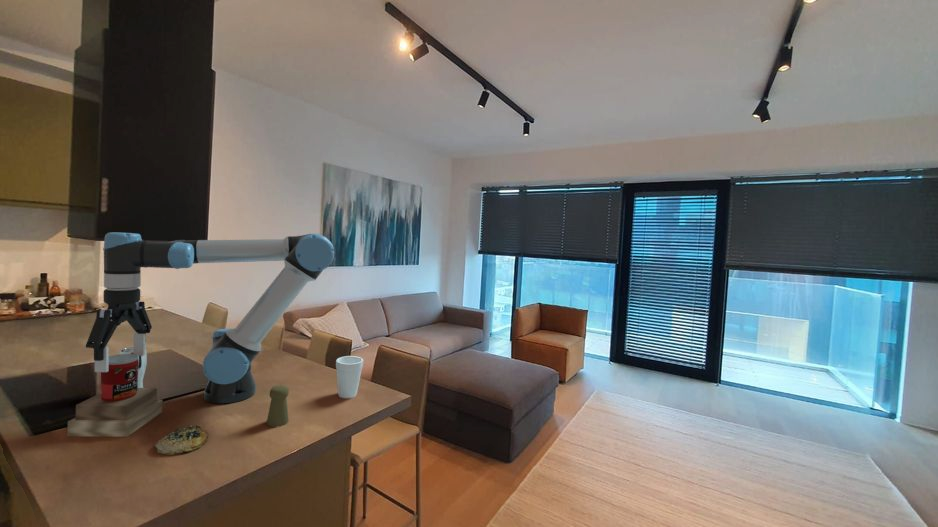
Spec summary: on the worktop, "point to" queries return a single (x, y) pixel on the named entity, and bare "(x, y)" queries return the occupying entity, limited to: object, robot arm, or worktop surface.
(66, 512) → the worktop surface
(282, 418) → the green pawn
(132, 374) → the canned food
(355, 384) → the foam cup
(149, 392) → the stack of wooden planks
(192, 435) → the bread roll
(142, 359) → the beer glass
